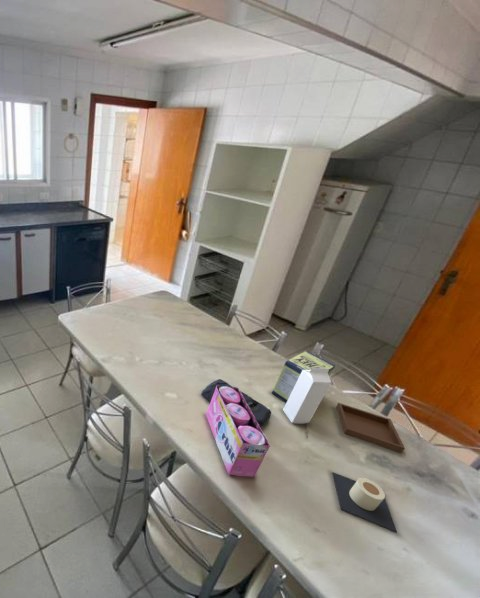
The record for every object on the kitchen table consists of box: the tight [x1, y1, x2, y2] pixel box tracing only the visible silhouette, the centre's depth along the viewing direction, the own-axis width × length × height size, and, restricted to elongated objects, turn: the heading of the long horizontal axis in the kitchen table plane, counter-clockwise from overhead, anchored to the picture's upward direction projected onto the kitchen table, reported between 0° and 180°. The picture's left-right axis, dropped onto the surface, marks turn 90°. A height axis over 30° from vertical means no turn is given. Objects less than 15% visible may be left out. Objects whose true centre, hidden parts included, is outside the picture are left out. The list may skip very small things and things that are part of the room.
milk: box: [282, 368, 332, 425], centre depth 111 cm, size 6×6×22 cm
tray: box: [335, 402, 406, 454], centre depth 113 cm, size 16×14×3 cm
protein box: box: [271, 350, 336, 404], centre depth 123 cm, size 10×16×16 cm
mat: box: [331, 472, 398, 533], centre depth 90 cm, size 12×12×1 cm
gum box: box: [205, 385, 271, 478], centre depth 102 cm, size 24×8×14 cm, turn 178°
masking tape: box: [349, 477, 386, 511], centre depth 89 cm, size 6×6×5 cm
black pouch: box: [200, 378, 272, 427], centre depth 119 cm, size 15×22×5 cm
